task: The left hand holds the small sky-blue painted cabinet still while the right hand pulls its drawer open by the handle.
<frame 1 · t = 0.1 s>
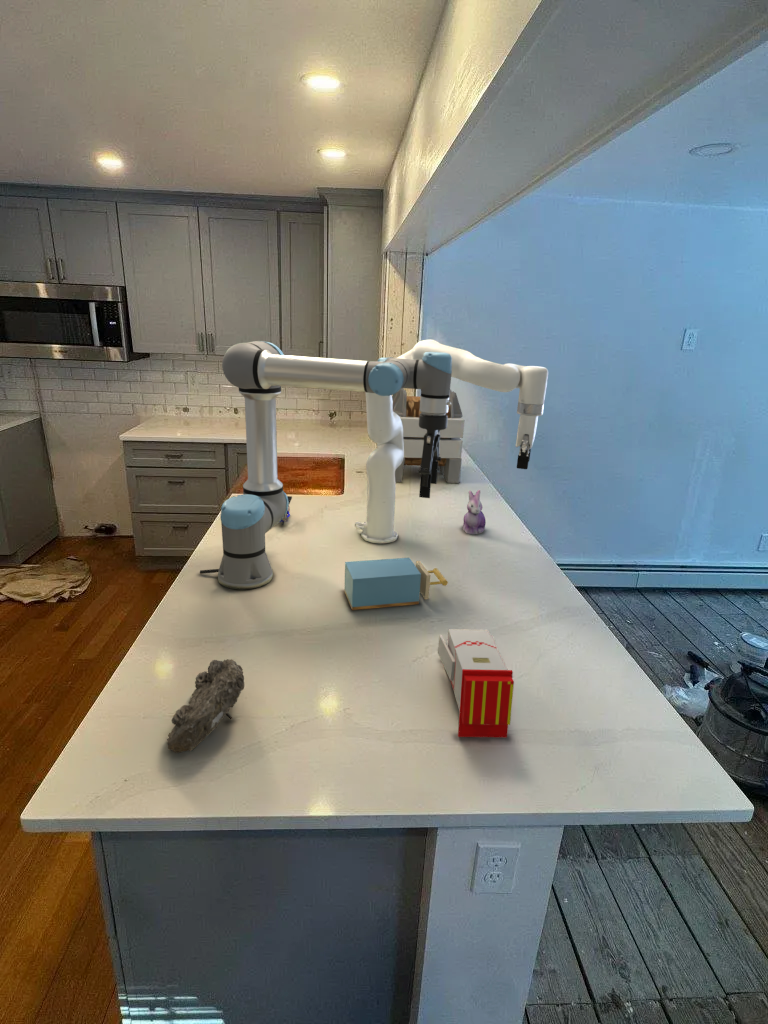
left hand: (428, 490, 157), 28 cm above the counter, tool pointing down, fingers open, 13 cm apart
right hand: (523, 464, 174), 31 cm above the counter, tool pointing down, fingers open, 9 cm apart
fossil: (212, 717, 108), on the counter
toy: (469, 691, 119), on the counter
figurine: (473, 530, 206), on the counter
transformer: (419, 473, 275), on the counter
cabinet: (381, 597, 155), on the counter
figurine character: (281, 520, 207), on the counter
drawer: (403, 581, 156), point 5 cm above the counter, slide at 1.8 cm
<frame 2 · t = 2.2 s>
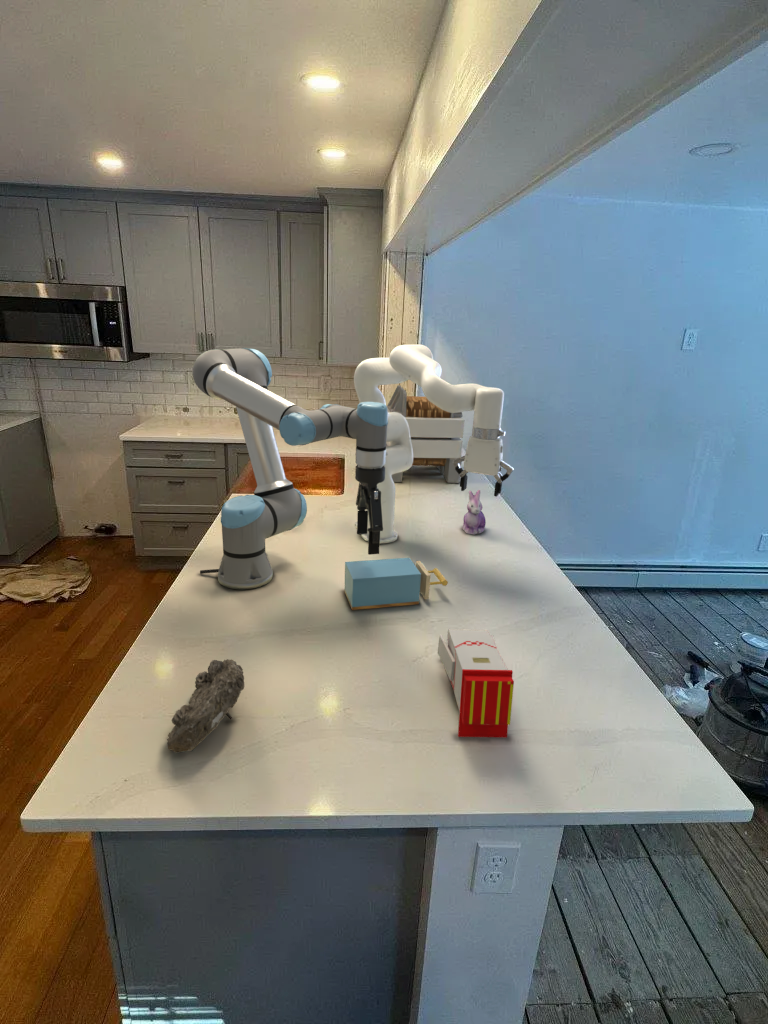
left hand: (367, 543, 149), 16 cm above the counter, tool pointing down, fingers open, 13 cm apart
right hand: (479, 492, 162), 26 cm above the counter, tool pointing down, fingers open, 9 cm apart
nothing on the counter moved.
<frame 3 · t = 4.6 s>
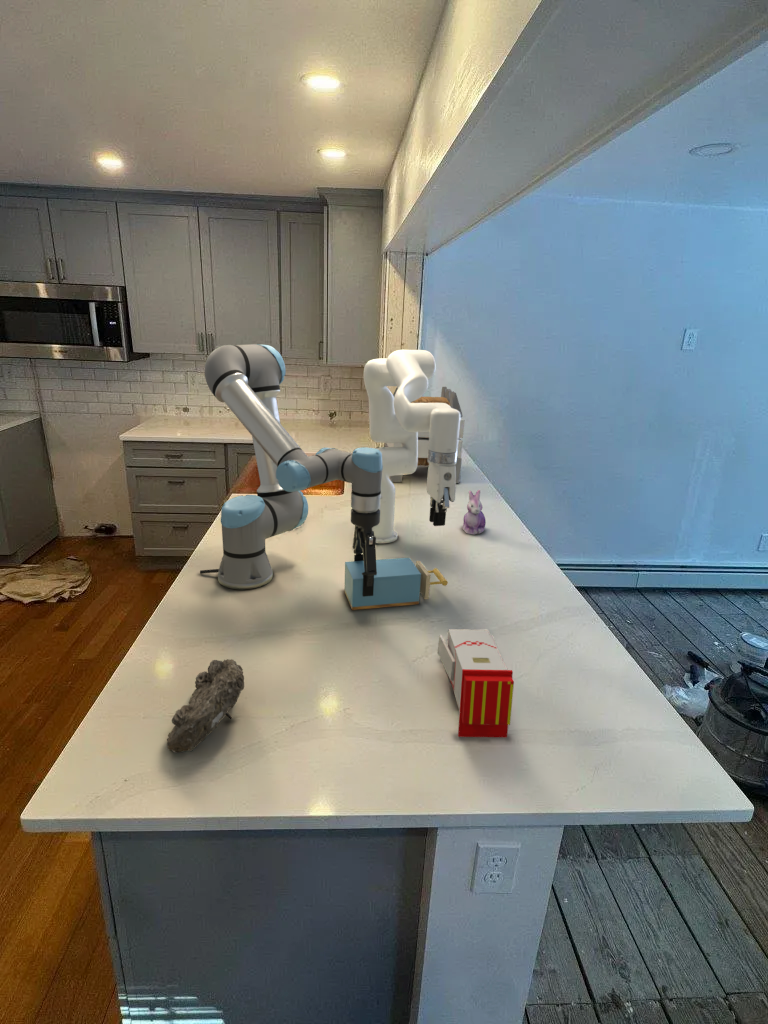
left hand: (363, 585, 153), 4 cm above the counter, tool pointing down, fingers closed on cabinet, 11 cm apart
right hand: (437, 522, 152), 21 cm above the counter, tool pointing down, fingers closed
cabinet: (381, 597, 155), on the counter, touching left hand
everything else where it was.
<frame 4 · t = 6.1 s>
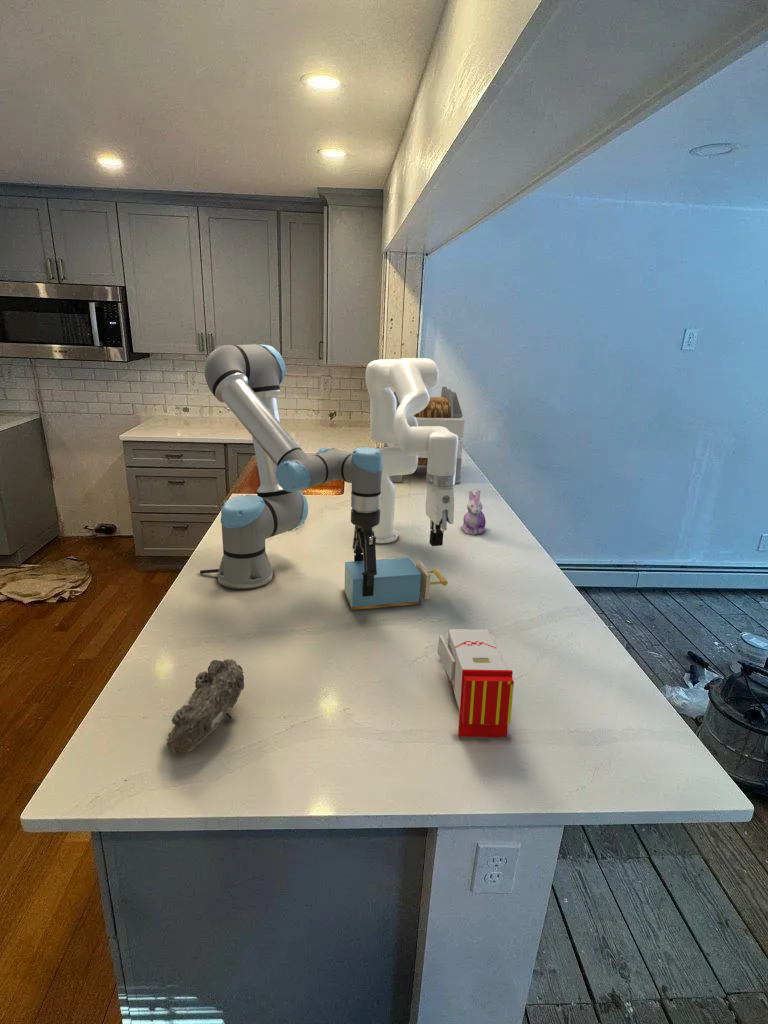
left hand: (363, 585, 153), 4 cm above the counter, tool pointing down, fingers closed on cabinet, 11 cm apart
right hand: (435, 544, 154), 15 cm above the counter, tool pointing down, fingers closed
cabinet: (381, 597, 155), on the counter, touching left hand
everything else where it was.
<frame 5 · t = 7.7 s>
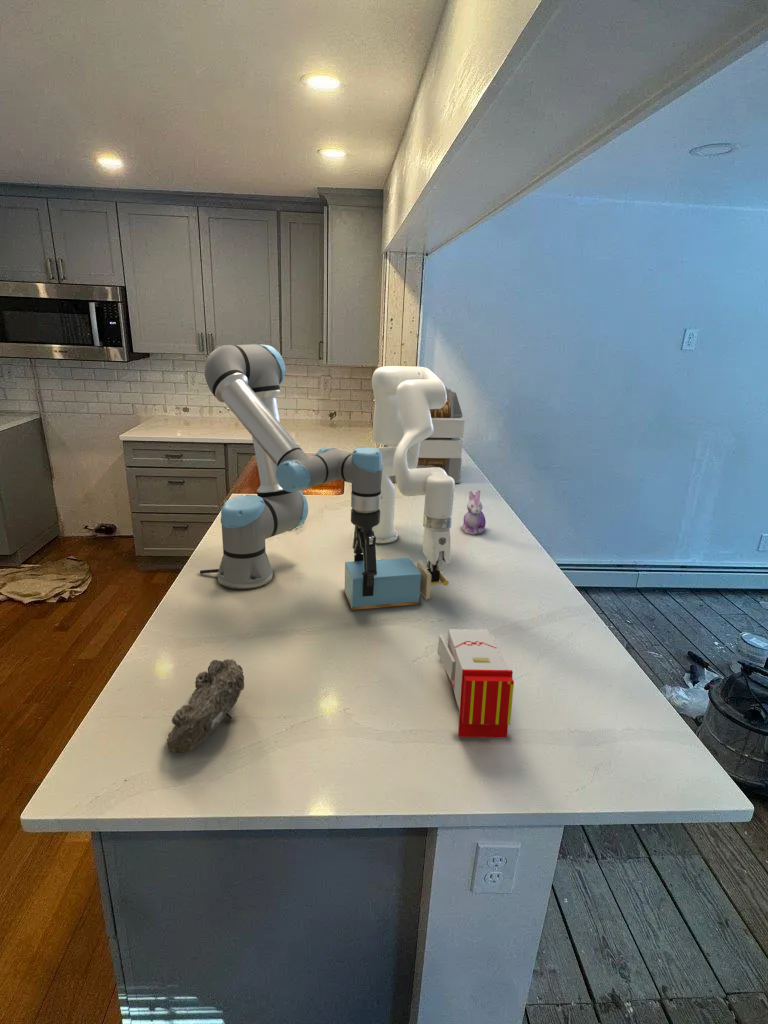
left hand: (363, 585, 153), 4 cm above the counter, tool pointing down, fingers closed on cabinet, 11 cm apart
right hand: (432, 582, 158), 3 cm above the counter, tool pointing down, fingers closed
cabinet: (381, 597, 155), on the counter, touching left hand
drawer: (404, 581, 156), point 5 cm above the counter, slide at 2.0 cm, touching right hand
everything else where it was.
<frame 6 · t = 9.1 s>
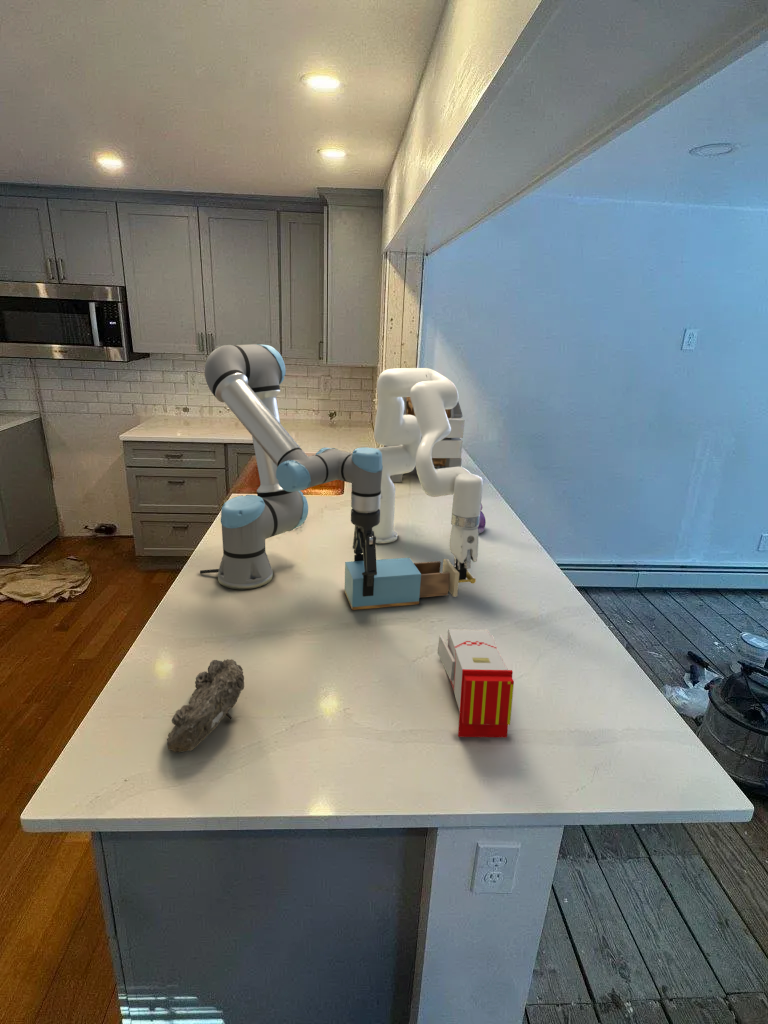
left hand: (363, 585, 153), 4 cm above the counter, tool pointing down, fingers closed on cabinet, 11 cm apart
right hand: (459, 580, 160), 3 cm above the counter, tool pointing down, fingers closed
cabinet: (381, 597, 155), on the counter, touching left hand
drawer: (432, 578, 158), point 4 cm above the counter, slide at 10.0 cm, touching right hand
everything else where it was.
when the left hand's fingers open (4 cm above the counter, at t = 11.1 s): cabinet stays where it is, on the counter.
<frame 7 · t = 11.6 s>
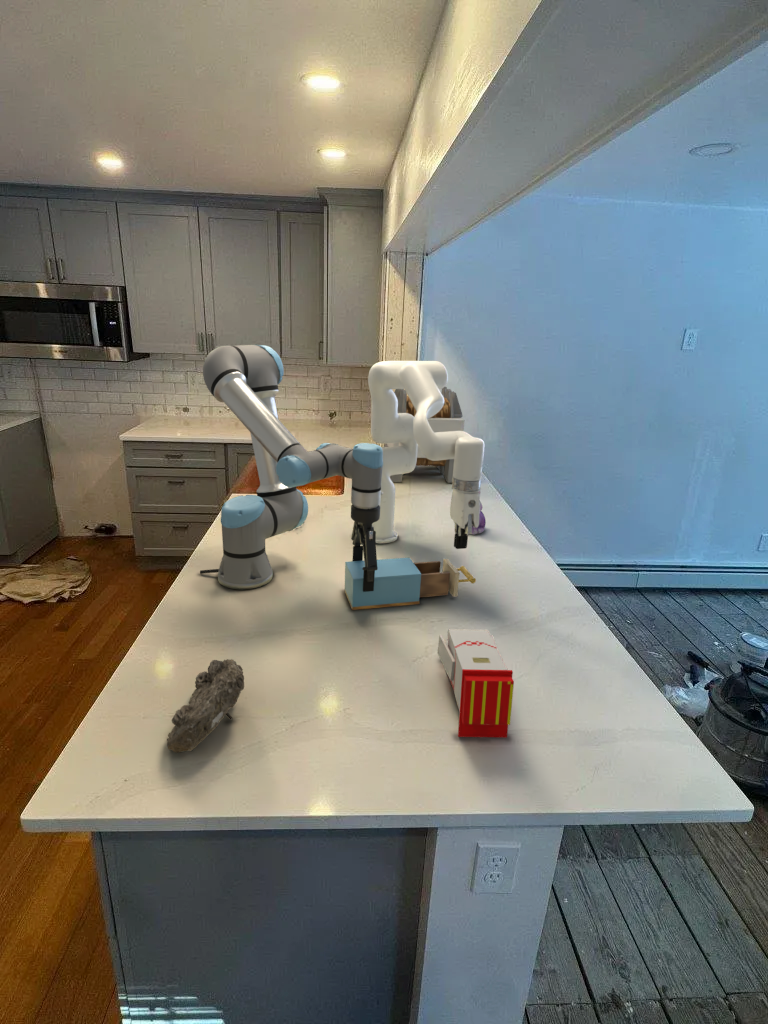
left hand: (362, 579, 152), 6 cm above the counter, tool pointing down, fingers open, 13 cm apart
right hand: (460, 547, 156), 14 cm above the counter, tool pointing down, fingers closed
cabinet: (381, 597, 156), on the counter
drawer: (432, 578, 158), point 4 cm above the counter, slide at 10.0 cm
everything else where it was.
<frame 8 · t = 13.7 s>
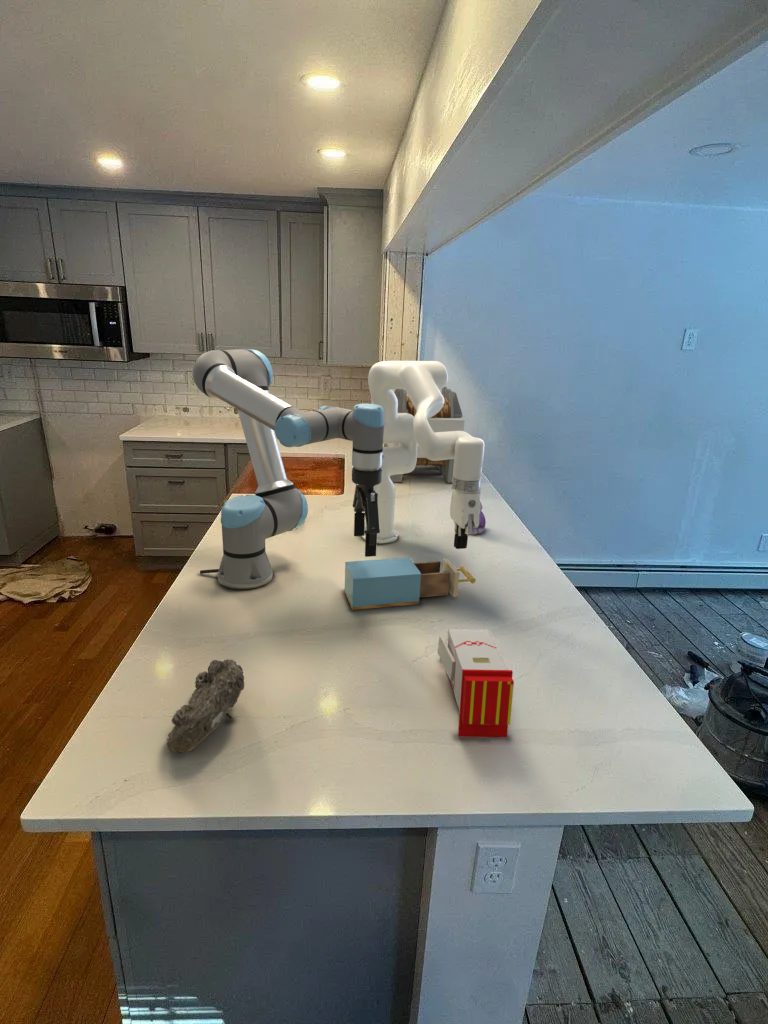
left hand: (364, 545, 149), 16 cm above the counter, tool pointing down, fingers open, 13 cm apart
right hand: (460, 547, 156), 14 cm above the counter, tool pointing down, fingers closed
nothing on the counter moved.
at the end: drawer slide at 10.0 cm; cabinet tilted 0°; cabinet never tilted more than 1° during the clip; cabinet moved 0.1 cm from its start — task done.
